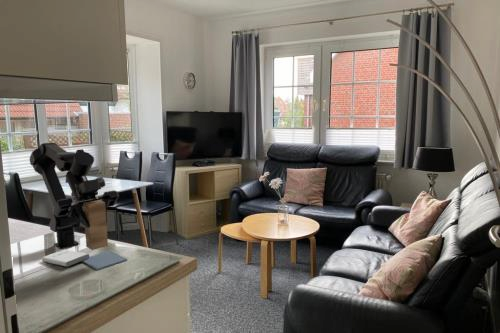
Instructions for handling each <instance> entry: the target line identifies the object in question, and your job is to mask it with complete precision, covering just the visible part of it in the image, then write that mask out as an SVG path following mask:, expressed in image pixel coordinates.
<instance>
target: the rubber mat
mask: <svg viewBox="0 0 500 333" xmlns="http://www.w3.org/2000/svg"><path fill="white" fill-rule="evenodd" d="M126 261H127V262H128V258H126V257H124V256H122V255H120V254H118V253H115V252H114V251H112V250H108V251H106V252H102V253H98V254H95V255H92V256H91V255H90V256H89V258H88V259H86V260H83V261H81V263H83V264H85V265H87V266H89V267H90V268H92V269H94V270H95V271H99V270H102V269H105V268H108V267H112V266H114V265H117V264H121V263H124V262H126Z"/></svg>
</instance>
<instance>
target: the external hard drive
mask: <svg viewBox="0 0 500 333" xmlns="http://www.w3.org/2000/svg"><path fill="white" fill-rule="evenodd" d="M89 257H90V253H86V252H81V251H75V250H69V249H61V250H58V251H56V252H54V253H51V254H48V255H44V256H42V258H41V261H42V262H44V263H49V264H53V265H56V266H61V267H71V266H73V265H75V264H78V263H80V262H81V263H82V261H83V260H86V259H88V258H89Z"/></svg>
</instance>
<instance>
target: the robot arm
mask: <svg viewBox="0 0 500 333" xmlns="http://www.w3.org/2000/svg"><path fill="white" fill-rule="evenodd" d="M94 162H95V157H94V155H91V153H89V152H86V151H84V149H76V150H75V151H67V150H66V149H63V148H62V147H60V146H59V145H58V143H56V142H44V143H41V144H40V145H39V147H37V148H36V149H34V150H32V152H31V154H30V156H29V163H30V166H32V168H33V170H34V172H35V173H38V174H39V175H41V176H42V178H43V179H42V180H43V181H44V182H43V183H44V184H45V187H46V190H47V193H48V194H49V197H50V200H51V203H52V205H53V210H52V213H51V218H50V221H49V223H48V224H49V226H48V227H49V229H50V231H52V232H54V233H55V234H56V242H55V243H53V246H55V247H57V248H58V249H59V250H64V249H65V248H70V247H74V246H77V245H79V244H80V242H78V241H76V236H75V228H79V227H80V224H82V225H83V226H84V227H85V226H86V227H87V228H89V227H90V224H89V222H88V219H87V217H86V215H85V213H84V208H83V203H86V202H92V201H97V200H100V201H103V202H105V208H106V223H107V222H108V214H107V212H108V211H107V210H108V208H109V207H114V206H115V205H116V203H117V202H118V199H119V197H120V195H119V193H118V191H116V190H115V189H114V190H109V191H108V190H107V191H104V192H103V194H102V196H98V195H99V190H102V188H104V187H105V186H106V181H105V179H104V178H103V176H98V177H96V178H95V179H89V180H88V178H87V175H89V174H90V172H91V169H92V167H93V165H94ZM56 168H57V170H58V171H59V172H60V173H61V172H62V173H64V172H66V174H65V183H66V184H68V186H69V188H70V191H71V193H70V195H71V196H72V197H74V199H73V198H71V197H68V198H67V196H66V193H65V191H64V189H63V186H62V184H61V181H60V179H59V176H58V174H57V171H56ZM97 196H98V197H97Z"/></svg>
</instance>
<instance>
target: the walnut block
mask: <svg viewBox="0 0 500 333" xmlns="http://www.w3.org/2000/svg"><path fill="white" fill-rule="evenodd" d="M82 208H83V211H84V213H85V215H86V217H87V219H88V222H89V224H90V227H89V228H87V227H86V226H85V225H84V234H85V246H86V248H87V249H89V250H91V251H94V250H98V249H102V248H104V247H105V248H106V247H108V246H109V244H108V242H109V241H108V240H109V239H108V228H107V227H108V226H107V223H106V208H105V202H103V201H100V200H97V201H92V202H86V203H83V207H82Z"/></svg>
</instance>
